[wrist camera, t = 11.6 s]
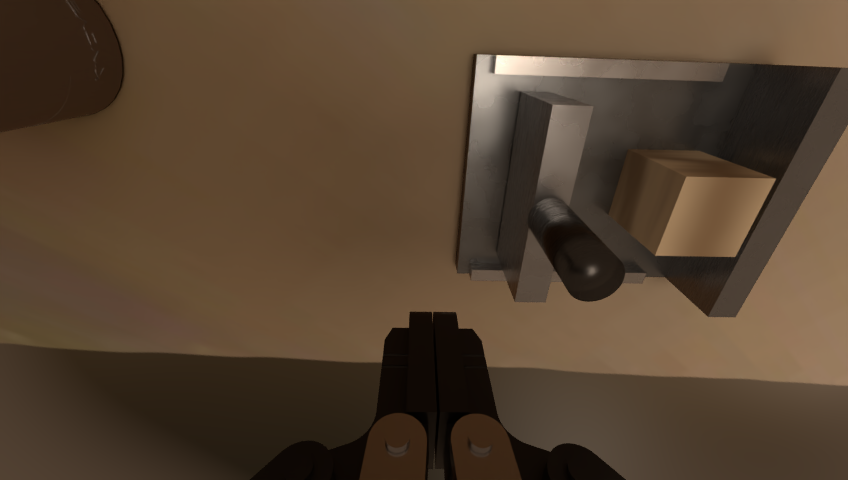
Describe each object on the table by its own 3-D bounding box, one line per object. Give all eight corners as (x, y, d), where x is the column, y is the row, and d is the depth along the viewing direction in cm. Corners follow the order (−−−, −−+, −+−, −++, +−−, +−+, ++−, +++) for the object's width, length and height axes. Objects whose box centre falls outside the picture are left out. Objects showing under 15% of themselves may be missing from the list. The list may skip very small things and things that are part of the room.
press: (455, 263, 30) (464, 312, 25) (473, 54, 23) (492, 55, 17) (682, 267, 31) (742, 317, 25) (774, 64, 23) (889, 69, 18)
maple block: (608, 215, 27) (655, 255, 21) (628, 148, 24) (686, 176, 19) (672, 216, 27) (735, 257, 22) (699, 150, 24) (776, 178, 19)
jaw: (494, 254, 28) (540, 378, 17) (517, 91, 22) (607, 129, 12) (524, 254, 28) (587, 378, 18) (555, 92, 22) (677, 131, 12)
